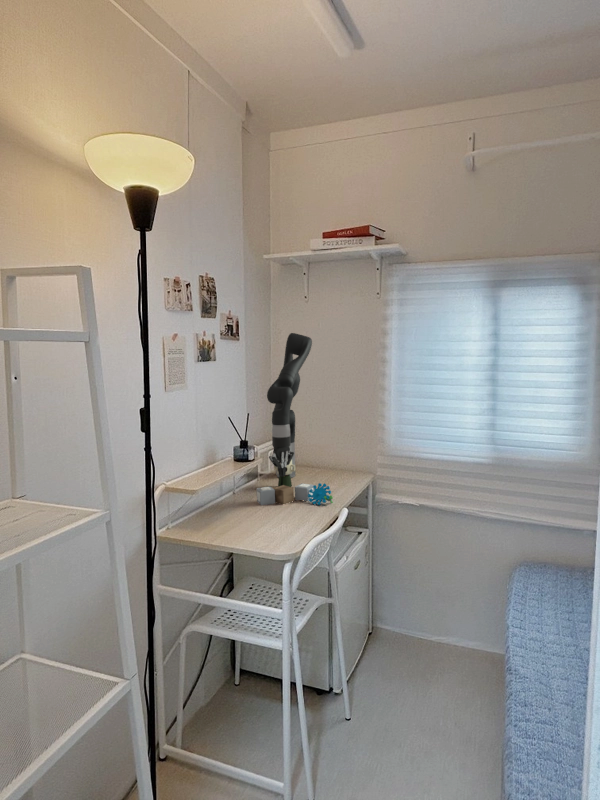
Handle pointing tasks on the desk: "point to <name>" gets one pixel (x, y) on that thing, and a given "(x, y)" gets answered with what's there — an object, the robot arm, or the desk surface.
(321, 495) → the gear
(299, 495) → the grey block back
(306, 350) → the robot arm
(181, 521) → the desk surface
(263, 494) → the grey block front
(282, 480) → the character mug
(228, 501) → the desk surface
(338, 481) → the desk surface
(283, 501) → the walnut block
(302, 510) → the desk surface
